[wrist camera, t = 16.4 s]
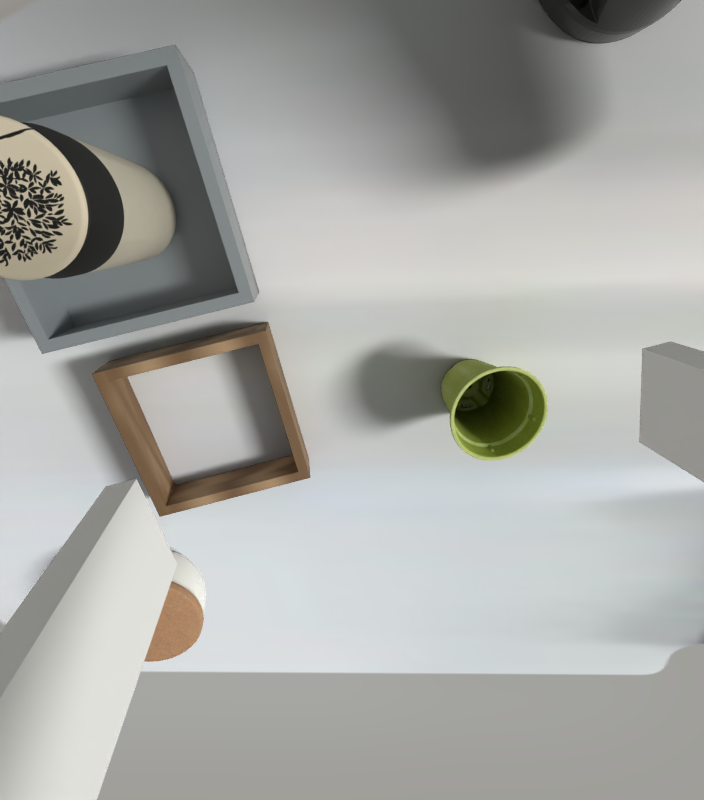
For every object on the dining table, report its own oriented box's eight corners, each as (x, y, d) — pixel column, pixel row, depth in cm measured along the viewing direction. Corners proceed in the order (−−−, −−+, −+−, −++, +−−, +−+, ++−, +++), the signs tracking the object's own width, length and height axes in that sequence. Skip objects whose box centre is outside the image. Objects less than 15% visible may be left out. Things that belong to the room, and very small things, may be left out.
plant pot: (424, 427, 51) (449, 465, 43) (425, 347, 47) (452, 371, 39) (503, 420, 52) (542, 455, 43) (510, 340, 48) (553, 363, 40)
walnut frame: (268, 322, 44) (265, 330, 40) (308, 459, 50) (310, 477, 46) (108, 361, 44) (91, 373, 40) (169, 495, 50) (159, 516, 46)
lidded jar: (189, 522, 51) (167, 582, 43) (229, 588, 55) (216, 655, 47) (102, 553, 51) (63, 620, 43) (148, 617, 55) (121, 689, 47)
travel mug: (188, 253, 40) (113, 272, 23) (98, 267, 40) (-43, 297, 23) (161, 154, 37) (53, 94, 20) (63, 168, 37) (-129, 119, 20)
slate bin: (193, 72, 36) (175, 44, 31) (259, 292, 43) (254, 301, 37) (-27, 122, 36) (-87, 103, 30) (75, 337, 42) (42, 353, 37)
